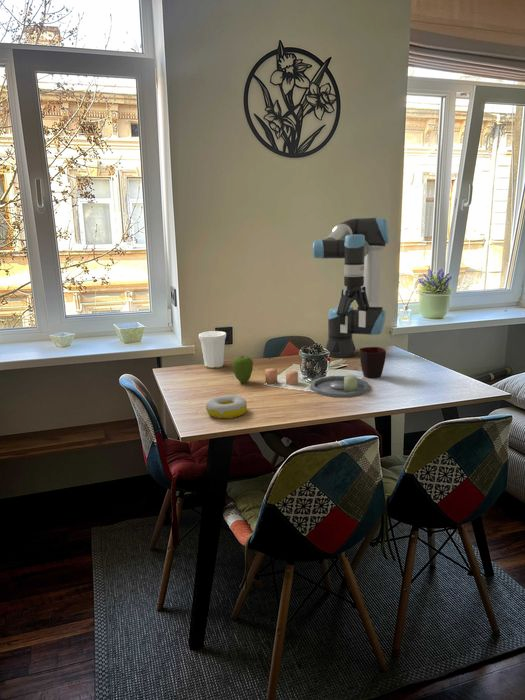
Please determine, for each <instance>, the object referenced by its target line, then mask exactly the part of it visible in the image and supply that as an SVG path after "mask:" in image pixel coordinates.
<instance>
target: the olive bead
mask: <svg viewBox="0 0 525 700" xmlns="http://www.w3.org/2000/svg"><path fill="white" fill-rule="evenodd" d="M345 376H346V377H344V392H345V393H347V392H353V391H357V378H358V377H357V376H354V375H345Z"/></svg>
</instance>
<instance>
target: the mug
mask: <svg viewBox="0 0 525 700" xmlns="http://www.w3.org/2000/svg"><path fill="white" fill-rule="evenodd" d="M386 354H387V350H386V349H384V348H382V347H379V346H371V347H370V346H368V347H361V348H359V360H360V367H361V371H362V374H363V377H365V378H366V379H378V378H381V377H382V375H383V371H384V367H385V364H386V363H385V362H386V357H387V355H386Z"/></svg>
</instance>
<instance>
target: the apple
mask: <svg viewBox="0 0 525 700" xmlns="http://www.w3.org/2000/svg"><path fill="white" fill-rule="evenodd" d="M253 366H254V362H253V358H251V357H250V356H249V355H242V356H241V355H240V356H237V357H235V358H234V359H233V361H232V370H233V373H234V376H235V378H236V380H238V381H239V382H240V383H242V384H245V383H248V381H249V380H250V379H251V377H252V373H253V369H254V368H253Z"/></svg>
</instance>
